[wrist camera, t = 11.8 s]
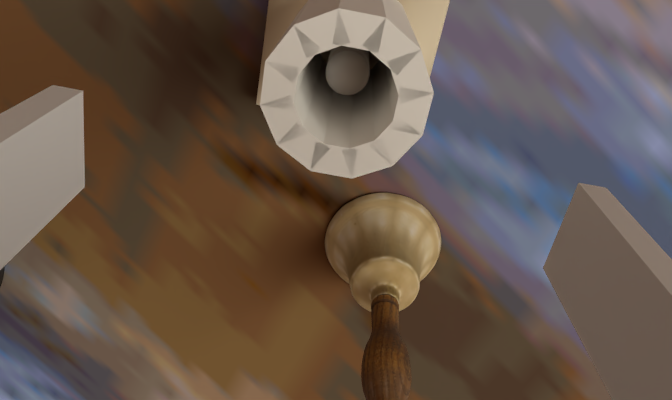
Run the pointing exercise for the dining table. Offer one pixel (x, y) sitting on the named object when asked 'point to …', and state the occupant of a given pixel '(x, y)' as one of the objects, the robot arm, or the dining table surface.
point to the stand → (351, 63)
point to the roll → (347, 110)
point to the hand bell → (383, 277)
